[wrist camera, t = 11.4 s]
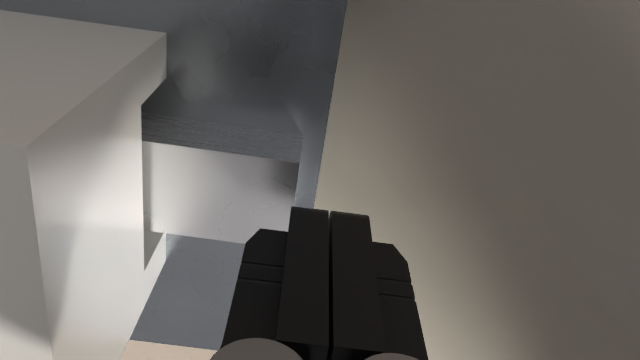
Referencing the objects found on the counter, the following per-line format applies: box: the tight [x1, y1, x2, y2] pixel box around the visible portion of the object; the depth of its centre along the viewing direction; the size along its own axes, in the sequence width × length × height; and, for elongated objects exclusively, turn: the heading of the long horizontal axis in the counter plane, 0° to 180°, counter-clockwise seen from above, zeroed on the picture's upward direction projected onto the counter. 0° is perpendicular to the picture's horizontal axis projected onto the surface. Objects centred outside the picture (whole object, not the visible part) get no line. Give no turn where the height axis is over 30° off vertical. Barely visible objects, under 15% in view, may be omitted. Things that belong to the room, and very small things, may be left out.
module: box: [0, 10, 167, 360], centre depth 10 cm, size 4×6×6 cm
